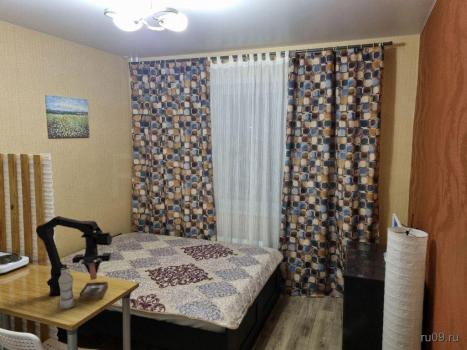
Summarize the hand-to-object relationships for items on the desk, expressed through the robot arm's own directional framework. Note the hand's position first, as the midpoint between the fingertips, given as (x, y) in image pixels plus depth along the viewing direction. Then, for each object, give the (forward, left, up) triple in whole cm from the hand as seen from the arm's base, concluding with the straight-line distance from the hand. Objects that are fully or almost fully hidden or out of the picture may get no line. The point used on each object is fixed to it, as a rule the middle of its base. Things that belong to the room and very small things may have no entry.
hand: (93, 273), depth 182 cm
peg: (0, 0, -3) cm, 3 cm away
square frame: (0, 0, -12) cm, 12 cm away
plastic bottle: (-9, -13, -12) cm, 20 cm away
